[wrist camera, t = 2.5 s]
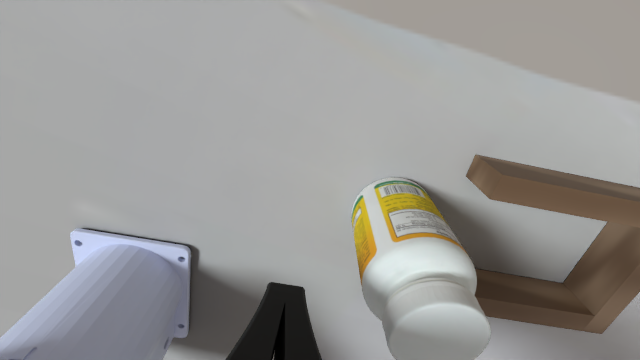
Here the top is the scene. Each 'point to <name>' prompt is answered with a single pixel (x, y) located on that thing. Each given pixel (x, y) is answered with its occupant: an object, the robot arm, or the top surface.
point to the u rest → (593, 268)
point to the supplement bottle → (416, 274)
